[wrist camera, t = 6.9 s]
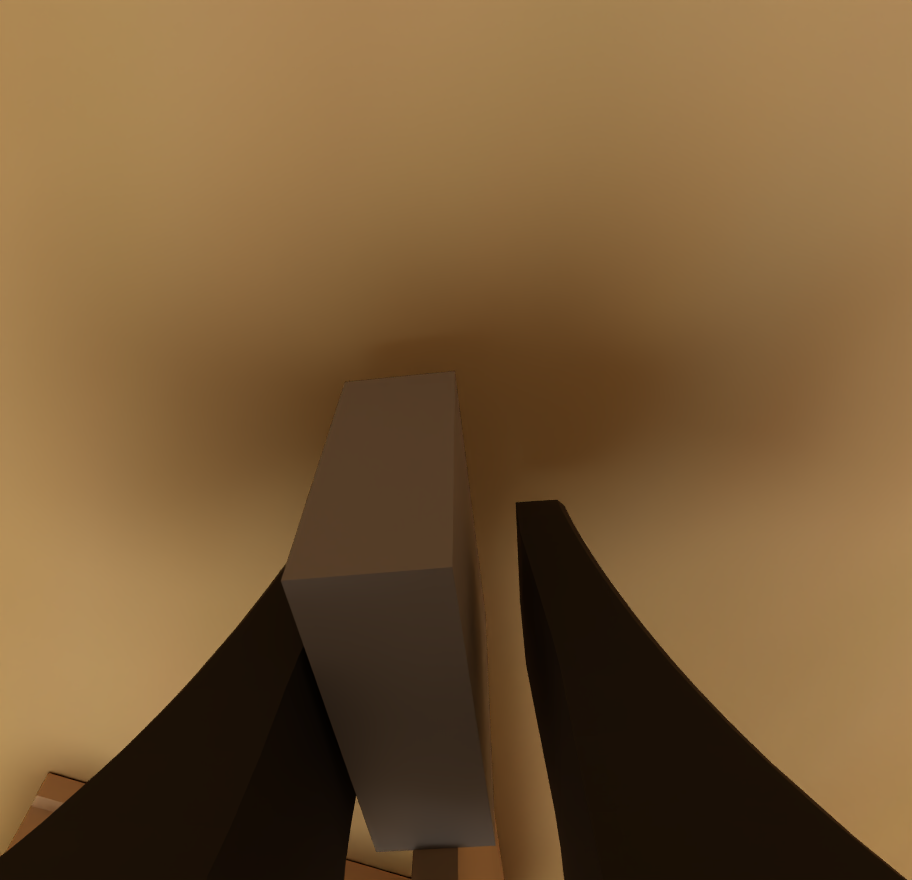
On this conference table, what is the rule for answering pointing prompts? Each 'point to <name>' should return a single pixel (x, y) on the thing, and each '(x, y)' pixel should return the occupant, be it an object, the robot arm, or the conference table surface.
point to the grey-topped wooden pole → (401, 622)
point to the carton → (61, 789)
